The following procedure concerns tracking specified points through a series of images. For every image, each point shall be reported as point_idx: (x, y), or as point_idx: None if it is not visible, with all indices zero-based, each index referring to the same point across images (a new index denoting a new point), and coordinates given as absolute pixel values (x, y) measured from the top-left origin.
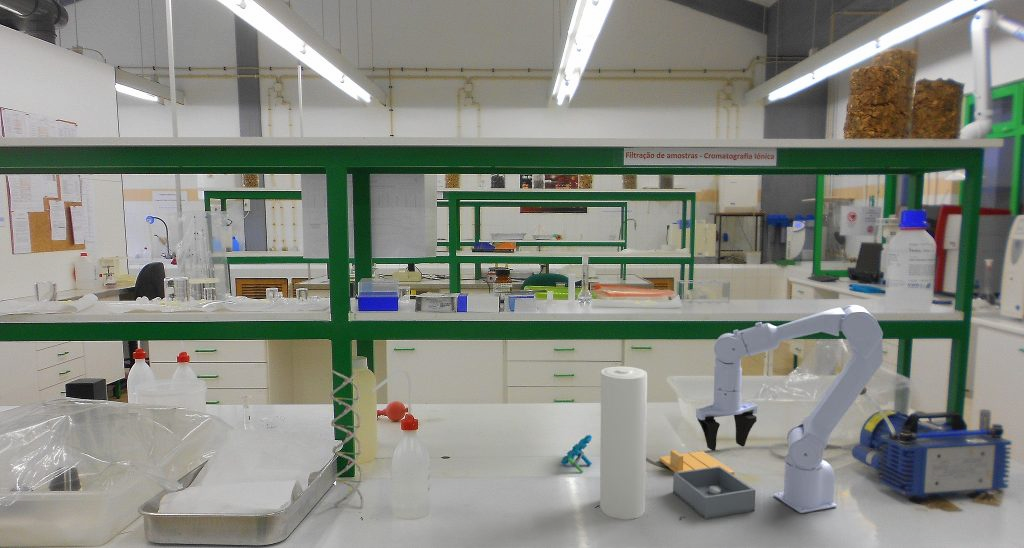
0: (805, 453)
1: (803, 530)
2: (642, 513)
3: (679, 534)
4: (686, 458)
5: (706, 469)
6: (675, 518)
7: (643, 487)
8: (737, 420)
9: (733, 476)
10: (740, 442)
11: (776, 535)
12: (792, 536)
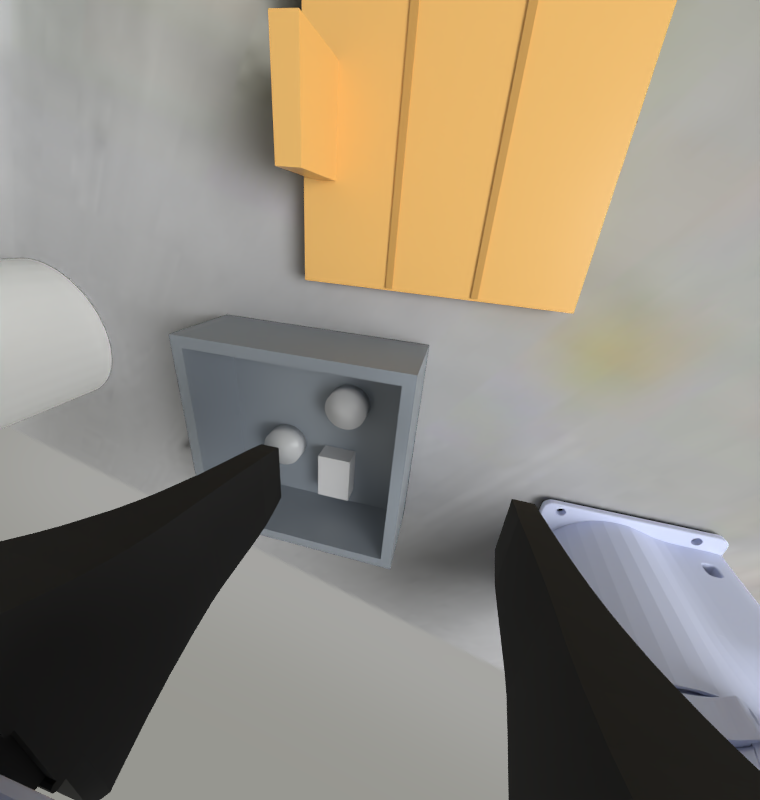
0: None
1: (440, 611)
2: (94, 389)
3: (162, 487)
4: (463, 1)
5: (329, 372)
6: (176, 438)
7: (7, 424)
8: (566, 750)
9: (394, 476)
10: (502, 554)
11: (363, 589)
12: (394, 607)
